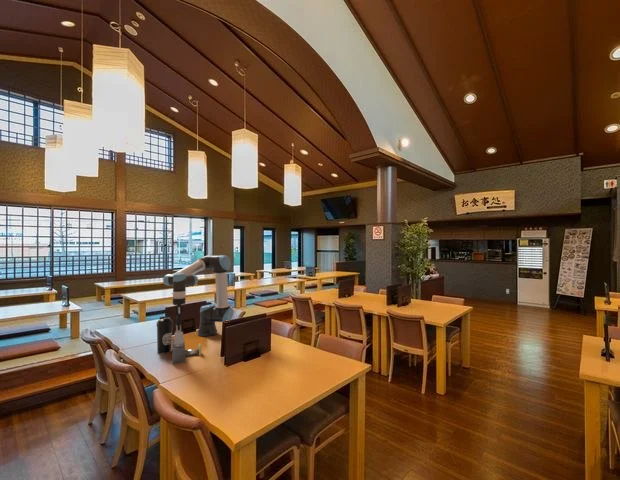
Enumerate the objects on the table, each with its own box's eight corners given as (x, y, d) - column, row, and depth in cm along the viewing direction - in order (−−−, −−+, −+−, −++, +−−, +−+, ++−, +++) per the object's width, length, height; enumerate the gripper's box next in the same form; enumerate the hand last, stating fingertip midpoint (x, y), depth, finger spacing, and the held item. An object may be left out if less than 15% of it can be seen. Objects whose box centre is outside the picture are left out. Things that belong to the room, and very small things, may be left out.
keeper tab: (174, 345, 191) (174, 332, 191) (182, 344, 193) (183, 331, 193) (174, 346, 189) (174, 332, 190) (183, 345, 192) (183, 331, 192)
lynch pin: (200, 352, 206) (200, 343, 206) (201, 355, 200) (201, 346, 200) (183, 354, 202) (183, 345, 202) (184, 357, 195) (184, 348, 196)
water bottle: (160, 355, 200) (161, 319, 200) (153, 351, 206) (153, 317, 206) (175, 351, 208) (176, 317, 208) (167, 347, 214) (168, 314, 214)
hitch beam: (172, 352, 205) (172, 336, 205) (183, 351, 208) (183, 335, 208) (172, 364, 185) (172, 346, 185) (184, 362, 188) (185, 345, 188)
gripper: (172, 296, 199) (172, 332, 198) (172, 299, 187) (172, 338, 186) (185, 295, 202) (184, 331, 201) (186, 299, 190) (185, 337, 189)
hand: (178, 334), depth 194 cm, fingers closed
